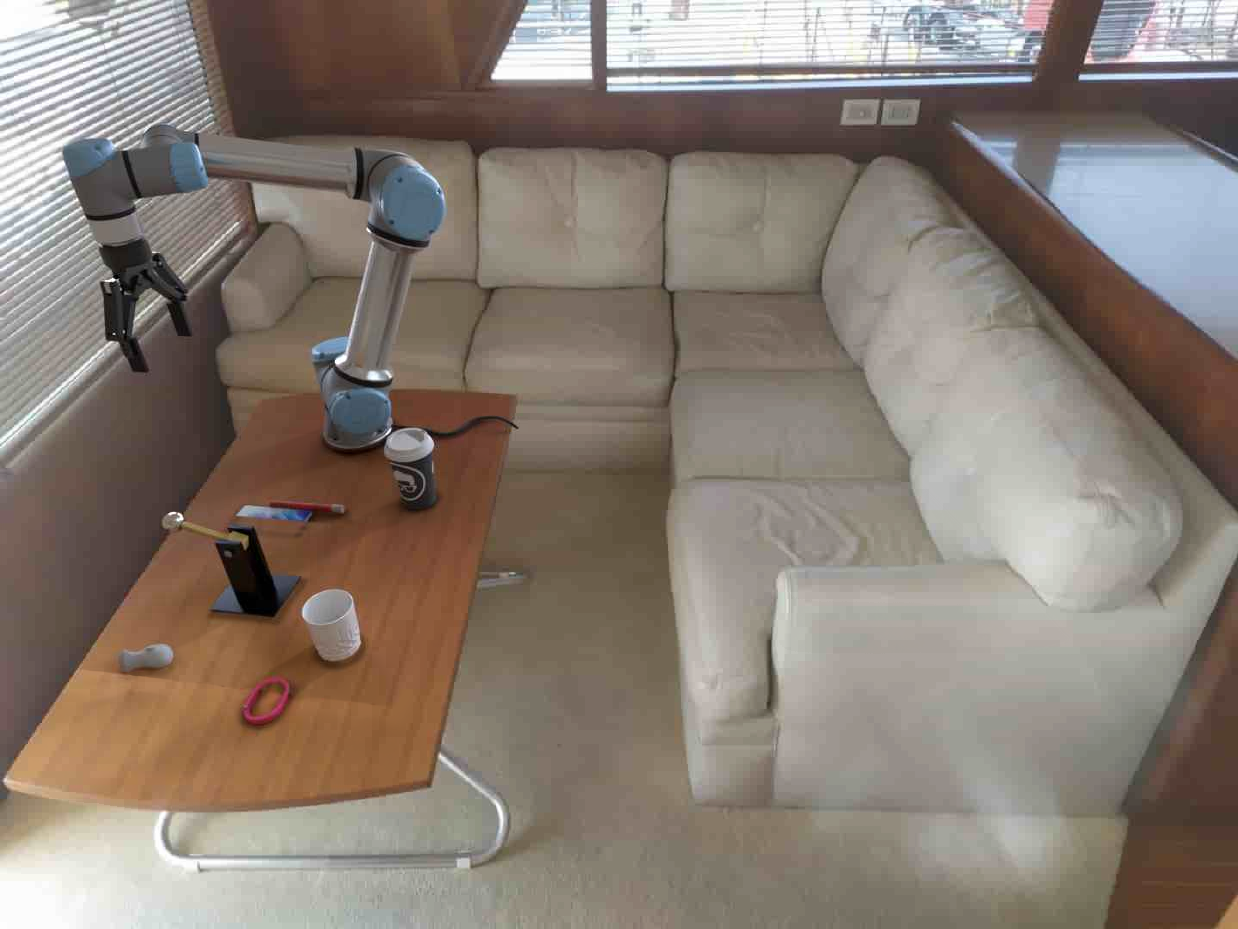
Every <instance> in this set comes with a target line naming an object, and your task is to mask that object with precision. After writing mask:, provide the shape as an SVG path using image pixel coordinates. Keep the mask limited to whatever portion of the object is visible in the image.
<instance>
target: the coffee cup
mask: <svg viewBox="0 0 1238 929" xmlns="http://www.w3.org/2000/svg"><path fill="white" fill-rule="evenodd" d="M434 447H435V442H434V440H433V439H432V437H431V436H430V435H429V434H428V432H425V431H424V430H422V429H419V428H405V429H401V428H400V429H397V430H396V431H394V432H393V433H392V434H391V435H390V436H389V437H388V438H387V441H386V442H385V443H384V446H383V454H384V456H385V457H386V458H387V460H388V461H389V464H390V467H391V470H392V473H393V476H394V479H395V482H396V485H397V488H398V491H399V493H400V497H401V499H402V503H403V505H404V507H405V508H406V509H408V510H411V511H422V510H426V509H428V508H430V507H431V506H433V505H434V504H435V502H436V500H437V494H436V493H437V492H436V483H435V482H436V481H435V471H434V470H435V469H434V468H435V467H434V458H433V450H434Z"/></svg>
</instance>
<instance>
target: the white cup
mask: <svg viewBox="0 0 1238 929" xmlns="http://www.w3.org/2000/svg"><path fill="white" fill-rule="evenodd" d="M301 617H302V620H303V622H304V624H305V626H306V629H307V632H308V634H309V636H310V639H311V641H312V644H313V645H314V648H315V649H316V651H317V654H318V655H319V656H320V657H321V658H322V659H323V660H324V661H329V662H340V661H343V660H346V659H348V658H350V657H352V656H353V655H354V654H355V653H356V652H357V651H358V650H359V648H360V646H361V644H362V640H361V634H360V633H361V632H360V628H359V627H360V624H359V621H358V616H357V612H356V608H355V603H354V599H353V597H352V595H351V593H349V592H348V591H345V590H343V589H333V588H332V589H326V590H323V591H320V592H318V593H316V594H314V595H312V596H311V597H310V598H308V599H307V600H306V602H305V603H304V604H303V606H302V608H301Z"/></svg>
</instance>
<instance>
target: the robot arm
mask: <svg viewBox="0 0 1238 929" xmlns="http://www.w3.org/2000/svg"><path fill="white" fill-rule="evenodd" d="M61 156H62V160H63V162H64V165H65V168H66V170H67V174H68V179H69V181H70V183H71V186H72V188H73V190H74V192H75V195H76V197H77V200H78V203H79V204H80V207H81V209H82V211H83V214H84V217H85V218H86V221H87V224H88V227H89V229H90V231H91V233H92V237H93V239H94V241H95V242H96V243H98V244H97V246H96V248H97V250H98V252H99V255H100V257H101V259H102V262H103V264H104V266H106V267H107V268H108V269H109V270H110V271H111V274H112V278H111V279H109V280H100V282H99V286H100V289H101V293H102V299H103V300H102V301H103V318H104V319H103V320H104V336H105V337H104V338H105V340H106V341H107V342H115V343H116V342H117V343H118V345H119V347H120V349H121V352H122V354H123V356H124V358H126V359H127V362H128V364H129V367H130V369H131V372H132V373H146V374H147V373H149V372H150V369H149V365H148V363H147V360H146V358H145V356H144V353H143V350H142V348H141V345H140V343H139V341H138V338H137V336H133V329H134V322H135V314H136V306H137V302H139V300H140V297H141V295H143V294H144V293H145V291H147V290H150V289H152V290H153V291H154V292H156V293H158V294H159V295H160V296H162V297H163V298H165V299H166V300H168V302H166V307H167V311H168V313H169V316H170V318H171V321H172V323H173V327H174V330H175V333H176V335H177V337H188V338H191V337H193V336H194V332H193V329H192V327H191V324H190V321H189V318H188V312H187V309H186V306H185V304H184V303H185V302H187V301H188V299H189V297H188V296H187V295H188V293H189V288H188V287H187V285H186V284H185V283H184V282H183V281H182V279H181V278H180V277H179V276H178V275H177V273H176V272H175V271H174V270H173V268H172V267H171V266H170V265H169V264H168V263H167V261H166V259H165V257H164V253H163V252H162V251H161V252H160V251H152V248H151V245H150V243H149V239H148V237H147V236H146V235H145V231H146V230H145V228H144V225H143V222H142V220H141V217H140V214H139V211H138V209H137V207H136V204H135V200H141V199H149V198H156V197H163V196H171V195H178V194H190V193H192V192H195V191H199V190H204V189H206V188H207V187H208V186H209V179H211V180H223V181H231V182H241V183H250V184H259V185H268V186H276V187H285V188H286V187H287V188H294V189H304V190H313V191H322V192H330V193H340V194H341V193H342V194H344V195H345V196H346V197H347V198H348V200H356V201H362V202H366V203H369V204H371V205H370V210H369V213H368V219H367V222H366V226H365V227H366V228H365V229H366V231H367V233H368V234H369V236H370V237H371V243H370V246H369V252H368V256H367V259H366V264H365V268H364V272H363V276H362V281H361V285H360V289H359V292H358V298H357V301H356V306H355V310H354V315H353V317H352V323H351V326H350V329H349V335H348V336H341V337H334V338H330V339H327V340H324V341H322V342H320V343H318V344H317V345H315V346H314V347H313V348H312V350H311V351H310V352H311V353H310V356H311V364H313V368H314V372H315V375H316V379H317V383H318V386H319V390H320V391H319V392H320V394H321V398H322V402H323V406H324V409H325V412H324V423H323V431H322V436H323V440H324V443H325V444H326V446H327V447H328V448H329V449H331V450H333V451H335V452H337V453H338V452H339V453H345V454H346V453H347V454H354V453H362V452H363V453H364V452H366V451H370V450H373V449H375V448H378V447H380V446H382V445H383V444H386V441H387V438H388V437H389V436H390V435H391V434H392V433H394V432H395V429H400V430H401V429H405V428H419V429H422V430H424V431H425V432H426V433H430V434H433V435H436V436H441V437H447V436H448V437H449V436H453V435H456V434H459V433H461V432H462V431H464V430H465V429H466V428H468V426H469V425H471V424H472V423H474V422H477V421H483V420H499V421H502V422H505V423H507V425H510V426H511V427H513V428H514V429H515V430H518V429H520V427H519V426H518V425H517V424H516V423H514V422H513V421H511V420H509V419H508V418H506V417H504V416H499V415H481V416H476V417H474V418H471V419H469V420H468V421H467V422H465V423H464V424H462V426H461V427H459V428H457V429H455V430H453V431H448V432H446V431H445V432H442V431H437V430H433V429H430V428H426V427H419V426H411V425H404V424H403V425H402V424H394V422H393V418H392V417H391V415H392V403H391V400H390V398H389V395H390V392H391V387H392V384H393V380H394V376H395V372H394V370H393V369H392V367H391V366H390V360H391V357H392V354H393V349H394V346H395V341H396V338H397V333H398V330H399V326H400V322H401V319H402V315H403V311H404V309H405V308H404V307H405V304H406V301H407V296H408V292H409V289H410V285H411V281H412V277H413V274H414V270H415V266H416V262H417V258H418V256H419V255H418V254H419V253H421V252H422V251H424V250H426V249H428V248H429V245H430V241H431V238H432V235H433V234H434V233H436V232H437V231H438V230H439V229H440V227H441V225H442V224H443V222H444V220H445V216H446V210H447V208H446V207H447V206H446V204H447V203H446V198H445V194H444V192H443V190H442V188H441V186H440V183H439V182H438V180H437V179H436V178H435V177H434V176H433V174H431V173H430V172H429V171H427V170H426V169H425V168H424V167H423V165H422V164H421V162H419V161H418V160H416V159H415V158H414V157H412V156H411V155H408V154H407V153H403V152H401V151H396V150H389V149H388V150H386V149H378V148H377V149H376V148H369V147H368V148H367V147H357V146H349V147H348V148H347V149H346V150H338V149H329V148H322V147H315V146H305V145H298V144H290V143H284V142H283V143H282V142H275V141H267V140H258V139H251V138H242V137H234V136H227V135H218V134H211V133H203V132H194V131H190V130H189V131H188V130H181V129H179V128H177V127H175V126H173V125H171V124H169V123H161V122H159V123H154V124H152V125H150V126H148V127H147V128H146V129H145V130H144V131H143V133H142V134H141V136H140V141H139V143H138V148H133V149H124V150H123V149H120V150H117V148H116V147H115V145H114V143H113V142H112V141H111V140H110V139H109V138H104V137H96V138H94V137H89V138H83V139H77V140H74V141H71V142H69V143H67V144H65V145H64V146H63V148H62V150H61Z"/></svg>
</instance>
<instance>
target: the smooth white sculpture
mask: <svg viewBox="0 0 1238 929" xmlns="http://www.w3.org/2000/svg"><path fill="white" fill-rule="evenodd" d="M173 659H174V651H173V649H172V648H171V646H170V645H168V644H166V643H157V644H150V645H148V646H145V647H143V648H142V649H140V650H139V651H130V650H129V649H126V648H124V649H123V650H122V651H120V652H119V653H118V662H119V667H120V670H121V672H123V673H126V674H129V673H131V672H132V671H135V670H138V669H147V668H148V669H154V670H155V669H156V670H157V669H163V668H166V667H167V666H169V665H170V664H171V662H172V661H173Z"/></svg>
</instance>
